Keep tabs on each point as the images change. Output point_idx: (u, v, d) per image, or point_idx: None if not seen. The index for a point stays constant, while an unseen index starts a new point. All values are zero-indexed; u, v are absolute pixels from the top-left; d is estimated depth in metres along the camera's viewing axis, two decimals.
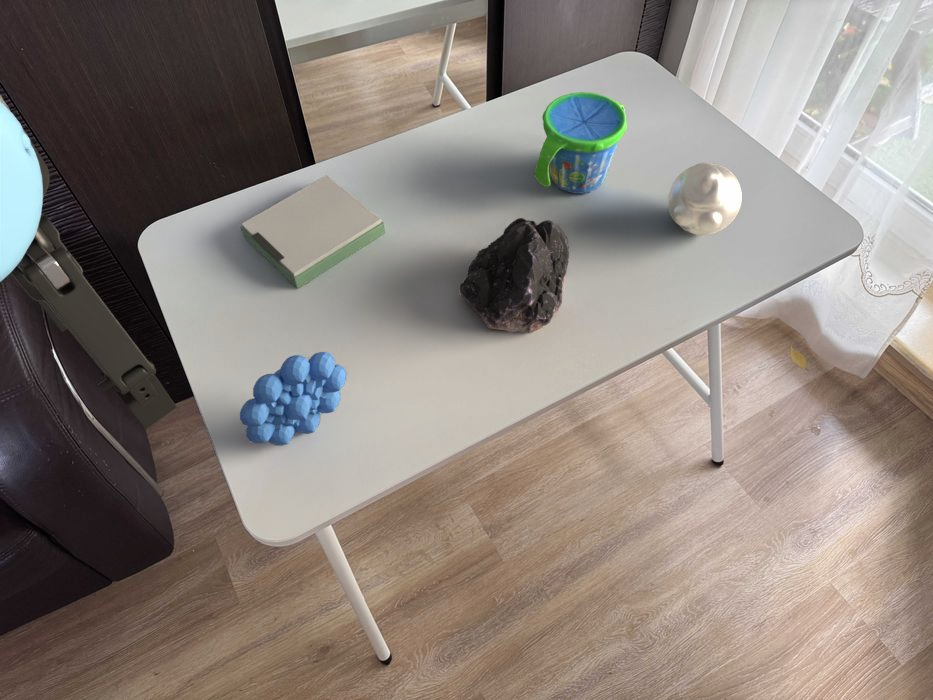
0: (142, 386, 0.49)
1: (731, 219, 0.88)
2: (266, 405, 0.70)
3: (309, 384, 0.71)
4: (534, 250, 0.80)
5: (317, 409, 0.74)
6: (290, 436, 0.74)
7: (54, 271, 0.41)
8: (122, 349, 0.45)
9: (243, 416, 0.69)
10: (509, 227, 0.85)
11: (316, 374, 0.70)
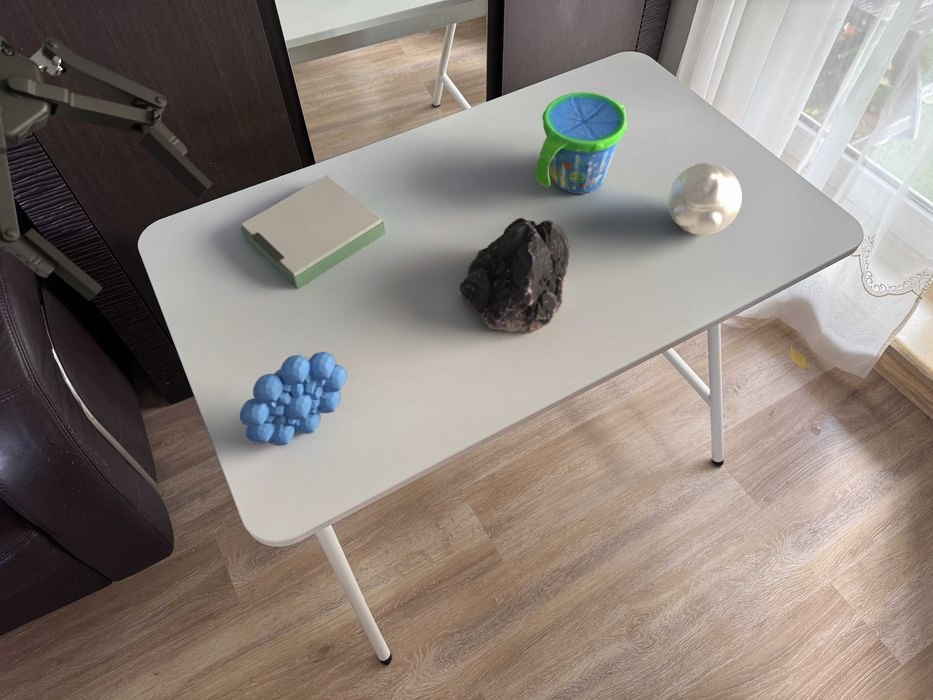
0: None
1: (731, 219, 0.88)
2: (266, 405, 0.70)
3: (309, 384, 0.71)
4: (533, 250, 0.80)
5: (317, 409, 0.74)
6: (290, 436, 0.74)
7: None
8: None
9: (243, 416, 0.69)
10: (509, 227, 0.85)
11: (316, 374, 0.70)
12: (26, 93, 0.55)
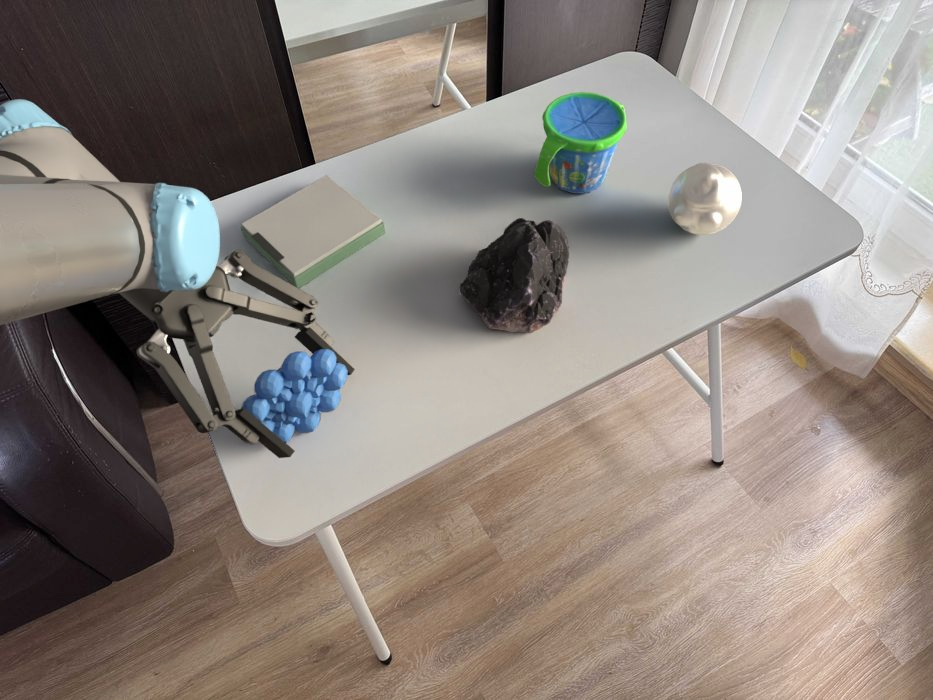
0: None
1: (731, 219, 0.88)
2: (267, 401, 0.70)
3: (310, 381, 0.71)
4: (533, 250, 0.80)
5: (317, 408, 0.75)
6: (290, 434, 0.74)
7: None
8: None
9: None
10: (509, 227, 0.85)
11: (317, 371, 0.70)
12: None
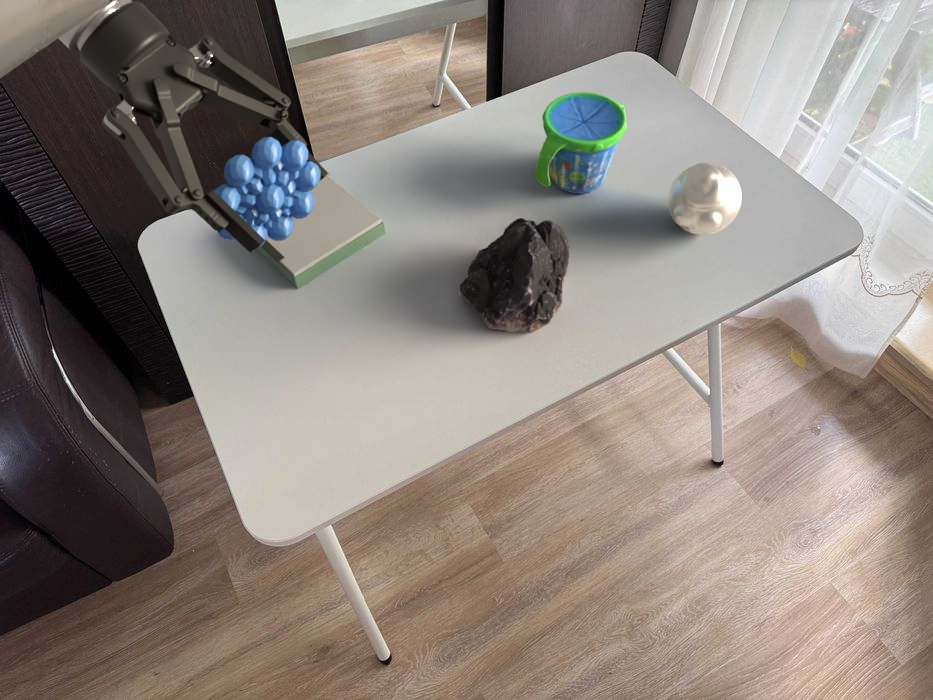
0: None
1: (731, 219, 0.88)
2: (237, 191, 0.69)
3: (281, 174, 0.70)
4: (534, 250, 0.80)
5: (290, 211, 0.73)
6: (262, 237, 0.73)
7: None
8: None
9: None
10: (509, 227, 0.85)
11: (288, 160, 0.69)
12: None
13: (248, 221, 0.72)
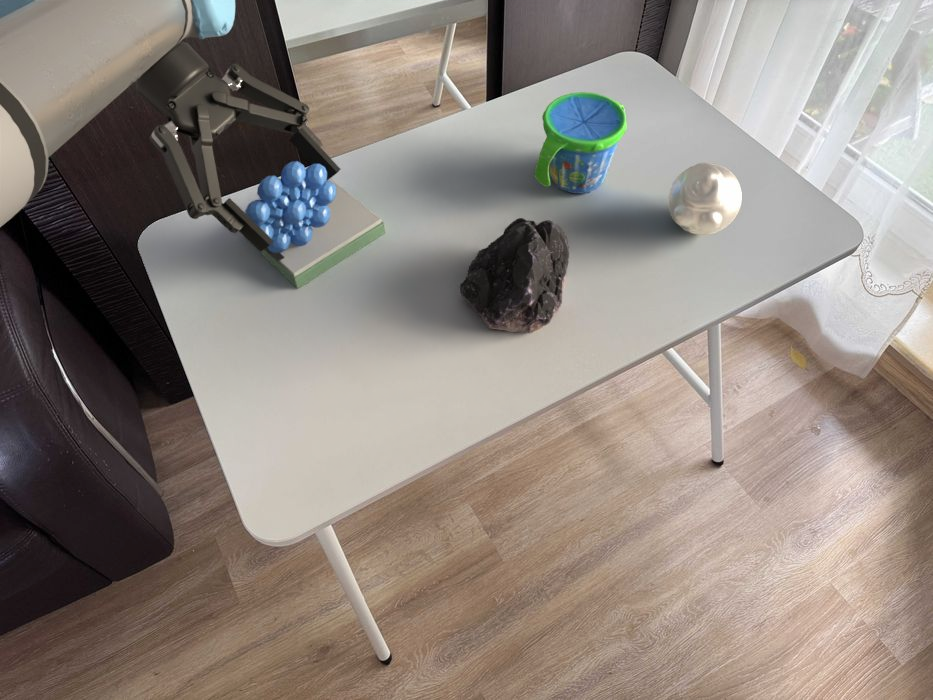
0: None
1: (731, 219, 0.88)
2: (268, 205, 0.82)
3: (305, 191, 0.84)
4: (533, 250, 0.80)
5: (310, 222, 0.87)
6: (286, 243, 0.87)
7: None
8: None
9: (248, 212, 0.82)
10: (509, 227, 0.85)
11: (311, 180, 0.83)
12: (223, 103, 0.79)
13: (275, 230, 0.86)
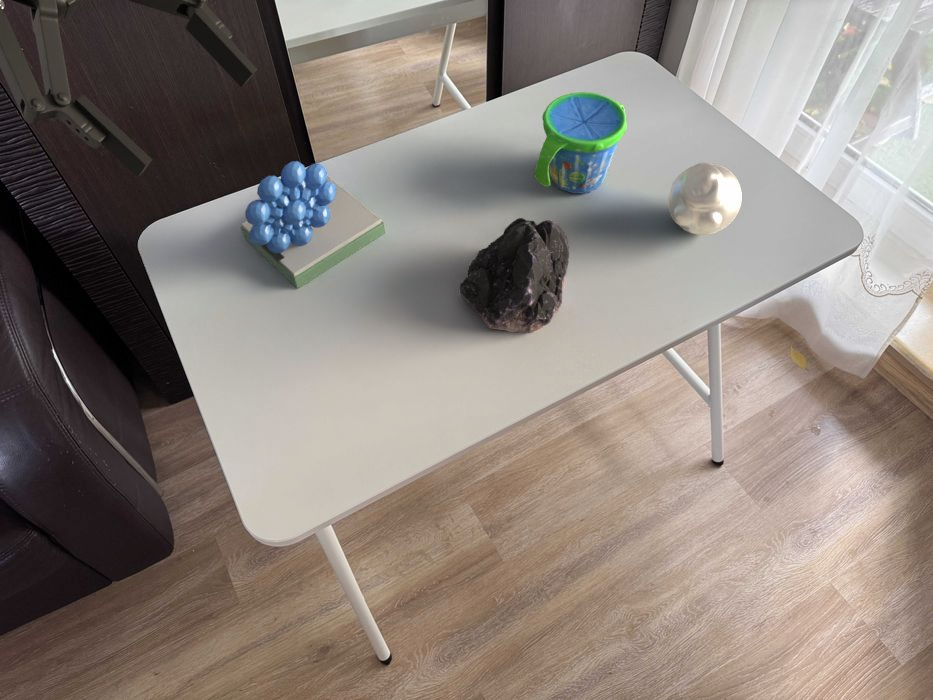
0: None
1: (731, 219, 0.88)
2: (268, 205, 0.82)
3: (305, 191, 0.84)
4: (533, 250, 0.80)
5: (310, 222, 0.87)
6: (286, 243, 0.87)
7: None
8: None
9: (248, 212, 0.82)
10: (509, 227, 0.85)
11: (311, 180, 0.83)
12: None
13: (275, 230, 0.86)
